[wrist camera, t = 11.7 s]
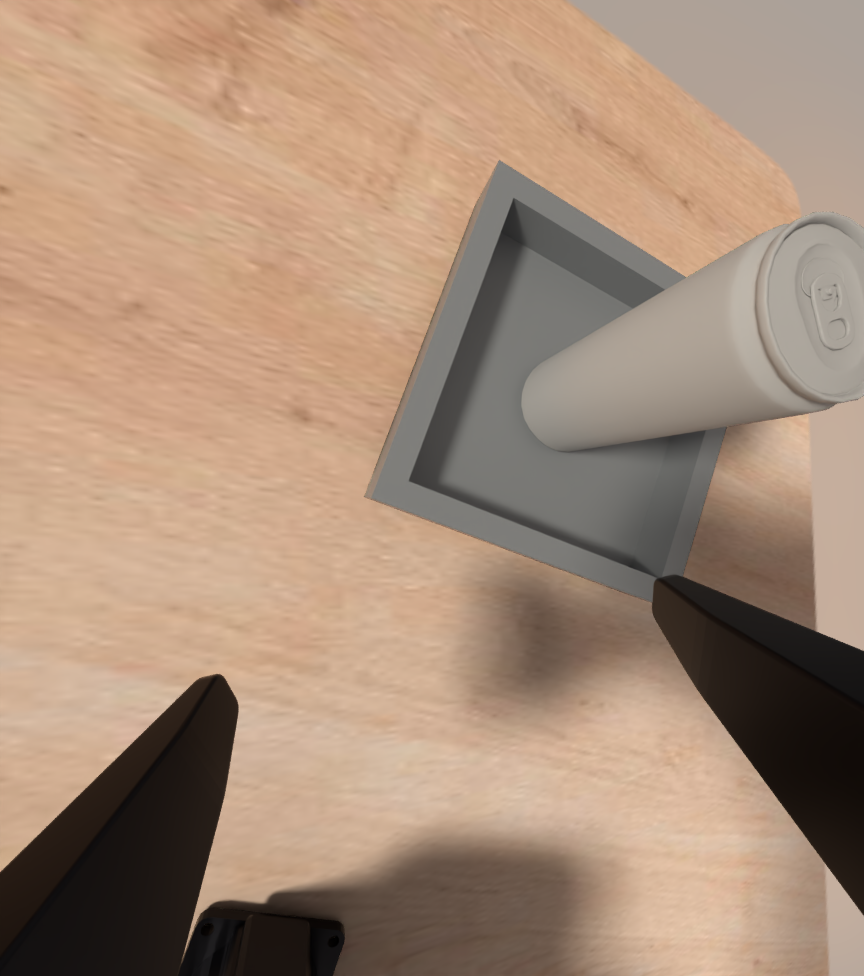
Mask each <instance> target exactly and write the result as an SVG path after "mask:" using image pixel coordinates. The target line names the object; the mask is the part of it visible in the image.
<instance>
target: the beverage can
mask: <svg viewBox="0 0 864 976" xmlns="http://www.w3.org/2000/svg"><path fill="white" fill-rule="evenodd" d="M863 396H864V228H863V227H862V226H860V225H859V224H858V223H856V222H855V221H853V220H852V219H851V218H849V217H846V216H843V215H840V214H837V213H834V212H813V213H811V214H809V215H806V216H804V217H802V218H799V219H797V220H795V221H793V222H792V223H790V224H783V225H780V226H778V227H775V228H773V229H771V230H768V231H766V232H764V233H762V234H760V235H758V236H756V237H754V238H753V239H751V240H749V241H748V242H746V243H744V244H742V245H741V246H739V247H737V248H736V249H734V250H732V251H731V252H729V253H727V254H725V255H724V256H722V257H720V258H719V259H717V260H715V261H714V262H712V263H710V264H708V265H707V266H705V267H703V268H702V269H700V270H698V271H696V272H695V273H693V274H691V275H690V276H688V277H686V278H685V279H683V280H681V281H679V282H678V283H676V284H674V285H673V286H671V287H669V288H668V289H666V290H664V291H662V292H661V293H659V294H657V295H656V296H654V297H652V298H651V299H649V300H647V301H645V302H644V303H642V304H640V305H639V306H637V307H635V308H634V309H632V310H630V311H628V312H627V313H625V314H623V315H622V316H620V317H618V318H616V319H615V320H613V321H611V322H610V323H608V324H606V325H605V326H603V327H601V328H599V329H598V330H596V331H594V332H593V333H591V334H589V335H588V336H586V337H584V338H582V339H581V340H579V341H577V342H576V343H574V344H572V345H571V346H569V347H567V348H565V349H564V350H562V351H560V352H559V353H557V354H555V355H554V356H552V357H550V358H548V359H547V360H545V361H543V362H542V363H540V364H539V365H538V366H537V367H536V368H535V369H533V370H532V372H531V373H530V375H529V377H528V378H527V380H526V382H525V385H524V388H523V391H522V401H521V406H522V411H523V416H524V419H525V421H526V423H527V425H528V427H529V429H530V430H531V431H532V432H533V434H534V435H535V436H536V437H537V439H539V440H540V441H541V442H542V443H543V444H545V445H546V446H548V447H550V448H552V449H554V450H556V451H563V452H571V451H577V450H583V449H590V448H596V447H602V446H609V445H615V444H621V443H627V442H634V441H640V440H646V439H653V438H659V437H665V436H672V435H678V434H684V433H690V432H697V431H703V430H709V429H716V428H722V427H728V426H735V425H741V424H747V423H753V422H760V421H766V420H772V419H779V418H785V417H791V416H798V415H803V414H808V413H813V412H818V411H823V410H827V409H829V408H830V407H832V406H834V405H835V404H837V403H843V402H848V401H853V400H858V399H859V398H861V397H863Z"/></svg>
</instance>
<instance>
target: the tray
mask: <svg viewBox="0 0 864 976" xmlns="http://www.w3.org/2000/svg"><path fill="white" fill-rule="evenodd" d="M685 278H686V277H685V276H683V275H682V274H680V273H678V272H677V271H675V270H674V269H672V268H671V267H669V266H667V265H666V264H664V263H663V262H661V261H659V260H658V259H656V258H655V257H653V256H651V255H650V254H648V253H647V252H645V251H643V250H642V249H640V248H639V247H637V246H635V245H634V244H632V243H631V242H629V241H627V240H626V239H624V238H623V237H621V236H619V235H618V234H616V233H615V232H613V231H611V230H610V229H608V228H607V227H605V226H604V225H602V224H600V223H599V222H597V221H596V220H594V219H592V218H591V217H589V216H588V215H586V214H584V213H583V212H581V211H580V210H578V209H576V208H575V207H573V206H572V205H570V204H568V203H567V202H565V201H564V200H562V199H560V198H559V197H557V196H556V195H554V194H552V193H551V192H549V191H548V190H546V189H545V188H543V187H541V186H540V185H538V184H537V183H535V182H533V181H532V180H530V179H529V178H527V177H525V176H524V175H522V174H521V173H519V172H517V171H516V170H514V169H513V168H511V167H509V166H508V165H506V164H505V163H503V162H501V161H500V160H499V161H498V163H497V165H496V167H495V169H494V171H493V173H492V174H491V176H490V178H489V180H488V182H487V184H486V186H485V188H484V189H483V191H482V193H481V195H480V197H479V199H478V201H477V203H476V205H475V207H474V209H473V212H472V215H471V217H470V220H469V223H468V225H467V228H466V230H465V233H464V236H463V238H462V241H461V244H460V246H459V249H458V252H457V254H456V257H455V259H454V262H453V265H452V267H451V270H450V273H449V275H448V278H447V280H446V283H445V286H444V288H443V291H442V294H441V296H440V299H439V301H438V304H437V307H436V309H435V312H434V315H433V317H432V320H431V322H430V325H429V328H428V330H427V333H426V336H425V338H424V341H423V343H422V346H421V349H420V351H419V354H418V357H417V359H416V362H415V365H414V367H413V370H412V372H411V375H410V378H409V380H408V383H407V386H406V388H405V391H404V393H403V396H402V399H401V401H400V404H399V407H398V409H397V412H396V414H395V417H394V420H393V422H392V425H391V428H390V430H389V433H388V435H387V438H386V441H385V443H384V446H383V449H382V451H381V454H380V456H379V459H378V462H377V464H376V467H375V470H374V472H373V475H372V478H371V480H370V483H369V485H368V488H367V491H366V493H365V496H364V497H366V498H368V499H371V500H374V501H376V502H379V503H382V504H385V505H387V506H390V507H393V508H395V509H398V510H401V511H404V512H406V513H409V514H412V515H414V516H417V517H420V518H422V519H425V520H428V521H431V522H433V523H436V524H439V525H441V526H444V527H447V528H450V529H452V530H455V531H458V532H460V533H463V534H466V535H468V536H471V537H474V538H477V539H479V540H482V541H485V542H487V543H490V544H493V545H496V546H498V547H501V548H504V549H506V550H509V551H512V552H514V553H517V554H520V555H523V556H525V557H528V558H531V559H533V560H536V561H539V562H542V563H544V564H547V565H550V566H552V567H555V568H558V569H560V570H563V571H566V572H569V573H571V574H574V575H577V576H579V577H582V578H585V579H588V580H590V581H593V582H596V583H598V584H601V585H604V586H606V587H609V588H612V589H615V590H617V591H620V592H623V593H625V594H628V595H631V596H634V597H637V598H640V599H643V600H646V601H649V602H651V603H652V601H653V585H654V581H655V580H656V579H657V578H659V577H663V576H668V575H674V574H675V575H679V576H682V577H683V573H684V570H685V567H686V563H687V560H688V556H689V553H690V550H691V546H692V543H693V539H694V536H695V533H696V529H697V526H698V522H699V519H700V516H701V512H702V509H703V506H704V502H705V499H706V495H707V492H708V489H709V485H710V482H711V478H712V475H713V472H714V468H715V465H716V461H717V458H718V455H719V451H720V448H721V445H722V441H723V438H724V434H725V431H726V428H727V427H722V428H716V429H709V430H703V431H697V432H690V433H684V434H678V435H672V436H665V437H659V438H653V439H646V440H640V441H634V442H627V443H621V444H615V445H609V446H602V447H596V448H590V449H583V450H577V451H571V452H563V451H556V450H554V449H552V448H550V447H548V446H546V445H545V444H543V443H542V442H541V441H540V440H539V439H537V437H536V436H535V435H534V434H533V432H532V431H531V430H530V429H529V427H528V425H527V423H526V421H525V419H524V416H523V411H522V406H521V401H522V391H523V388H524V385H525V382H526V380H527V378H528V377H529V375H530V373H531V372H532V370H533V369H535V368H536V367H537V366H538V365H539V364H540V363H542V362H543V361H545V360H547V359H548V358H550V357H552V356H554V355H555V354H557V353H559V352H560V351H562V350H564V349H565V348H567V347H569V346H571V345H572V344H574V343H576V342H577V341H579V340H581V339H582V338H584V337H586V336H588V335H589V334H591V333H593V332H594V331H596V330H598V329H599V328H601V327H603V326H605V325H606V324H608V323H610V322H611V321H613V320H615V319H616V318H618V317H620V316H622V315H623V314H625V313H627V312H628V311H630V310H632V309H634V308H635V307H637V306H639V305H640V304H642V303H644V302H645V301H647V300H649V299H651V298H652V297H654V296H656V295H657V294H659V293H661V292H662V291H664V290H666V289H668V288H669V287H671V286H673V285H674V284H676V283H678V282H679V281H681V280H683V279H685Z"/></svg>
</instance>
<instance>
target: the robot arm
mask: <svg viewBox="0 0 864 976" xmlns="http://www.w3.org/2000/svg"><path fill="white" fill-rule="evenodd" d="M652 611H653V615H654V618H655V620H656V622H657V624H658V625H659V627H660V629H661V630H662V632H663V634H664V635H665V637H666V639H667V640H668V642H669V644H670V645H671V647H672V649H673V650H674V652H675V654H676V655H677V657H678V659H679V660H680V662H681V664H682V665H683V667H684V669H685V670H686V672H687V674H688V675H689V677H690V679H691V680H692V682H693V683H694V685H695V687H696V688H697V690H698V691H699V693H700V694H701V695H702V697H703V698H704V700H705V701H706V702H707V704H708V705H709V706H710V708H711V709H712V711H713V712H714V713H715V715H716V716H717V717H718V719H719V720H720V721H721V723H722V724H723V725H724V727H725V728H726V730H727V731H728V732H729V734H730V735H731V736H732V738H733V739H734V740H735V742H736V743H737V744H738V746H739V747H740V749H741V750H742V751H743V753H744V754H745V755H746V757H747V758H748V759H749V761H750V762H751V763H752V765H753V766H754V768H755V769H756V770H757V772H758V773H759V774H760V776H761V777H762V778H763V780H764V781H765V782H766V784H767V785H768V787H769V788H770V789H771V791H772V792H773V793H774V795H775V796H776V797H777V799H778V800H779V801H780V803H781V804H782V806H783V807H784V808H785V810H786V811H787V812H788V814H789V815H790V816H791V818H792V819H793V820H794V822H795V823H796V825H797V826H798V827H799V829H800V830H801V831H802V833H803V834H804V835H805V837H806V838H807V839H808V841H809V842H810V844H811V845H812V846H813V848H814V849H815V850H816V852H817V853H818V854H819V856H820V857H821V858H822V860H823V861H824V863H825V864H826V865H827V867H828V868H829V869H830V871H831V872H832V873H833V875H834V876H835V877H836V879H837V880H838V882H839V883H840V884H841V885H842V887H843V888H844V890H845V891H846V892H847V893H848V895H849V896H850V898H851V899H852V900H853V902H854V903H855V904H856V906H857V907H858V909H859V910H860V911H861V913H862V914H863V915H864V651H862V650H860V649H858V648H855V647H853V646H850V645H848V644H845V643H843V642H840V641H838V640H835V639H833V638H831V637H828V636H826V635H823V634H821V633H819V632H816V631H814V630H811V629H809V628H806V627H804V626H801V625H799V624H797V623H794V622H792V621H789V620H787V619H784V618H782V617H780V616H777V615H775V614H772V613H770V612H767V611H765V610H762V609H760V608H758V607H755V606H753V605H750V604H748V603H745V602H743V601H740V600H738V599H736V598H733V597H731V596H728V595H726V594H723V593H721V592H719V591H716V590H714V589H711V588H709V587H706V586H704V585H701V584H699V583H697V582H694V581H692V580H689V579H687V578H684V577H682V576H679V575H675V574H674V575H668V576H663V577H659V578H657V579H656V580H655V581H654V585H653V601H652ZM238 708H239V707H238V702H237V699H236V697H235V695H234V694H233V692H232V690H231V688H230V687H229V685H228V683H227V681H226V679H225V678H224V676H222V675H221V674H215V675H210V676H206V677H202V678H199V679H198V680H196V681H195V682H194V683H193V684H192V685H191V686H190V687H189V688H188V689H187V690H186V691H185V692H184V693H183V694H182V695H181V696H180V697H179V698H178V699H177V700H176V701H175V702H174V703H173V704H172V705H171V706H170V707H169V708H168V709H167V710H166V711H165V712H164V713H163V714H162V715H160V716H159V717H158V718H157V719H156V720H155V721H154V722H153V723H152V724H151V725H150V726H149V727H148V728H147V729H146V730H145V731H144V732H143V733H142V734H141V735H140V736H139V737H138V738H137V739H136V740H135V741H134V742H133V743H132V744H131V745H130V746H129V747H128V748H127V749H126V750H125V751H124V752H123V753H122V754H121V755H120V756H119V757H118V758H117V759H116V760H115V761H113V762H112V763H111V764H110V765H109V766H108V767H107V768H106V769H105V770H104V771H103V772H102V773H101V774H100V775H99V776H98V777H97V778H96V779H95V780H94V781H93V782H92V783H91V784H90V785H89V786H88V787H87V788H86V789H85V790H84V791H83V792H82V793H81V794H80V795H79V796H78V797H77V798H76V799H75V800H74V801H73V802H72V803H71V804H69V805H68V806H67V807H66V808H65V809H64V810H63V811H62V812H61V813H60V814H59V815H58V816H57V817H56V818H55V819H54V820H53V821H52V822H51V823H50V824H49V825H48V826H47V827H46V828H45V829H44V830H43V831H42V832H41V833H40V834H39V835H38V836H37V837H36V838H35V839H34V840H33V841H32V842H31V843H30V844H29V845H28V846H27V847H26V848H24V849H23V850H22V851H21V852H20V853H19V854H18V855H17V856H16V857H15V858H14V859H13V860H12V861H11V862H10V863H9V864H8V865H7V866H6V867H5V868H4V869H3V870H2V871H1V872H0V976H333V973H334V970H335V967H336V965H337V962H338V959H339V956H340V953H341V950H342V947H343V944H344V940H345V932H344V926H343V924H342V923H341V922H338V921H331V920H322V919H312V918H303V917H294V916H285V915H276V914H266V913H257V912H248V911H239V910H230V909H220V908H209V909H207V910H205V911H203V912H202V913H201V914H200V916H199V917H198V919H197V922H196V925H195V927H194V930H193V932H192V935H191V938H190V940H189V943H188V946H187V948H186V951H185V947H186V943H187V939H188V935H189V931H190V928H191V924H192V920H193V916H194V912H195V908H196V904H197V901H198V897H199V893H200V889H201V885H202V881H203V878H204V874H205V870H206V866H207V862H208V858H209V855H210V851H211V847H212V843H213V839H214V835H215V831H216V828H217V824H218V820H219V816H220V812H221V808H222V804H223V800H224V796H225V791H226V785H227V780H228V774H229V768H230V761H231V755H232V749H233V743H234V737H235V731H236V724H237V718H238ZM207 923H211V924H213V925H211V926H206V925H205V924H207ZM332 936H336V937H335V938H331V937H332ZM184 951H185V953H184ZM183 954H184V956H183ZM182 958H183V959H182Z"/></svg>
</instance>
